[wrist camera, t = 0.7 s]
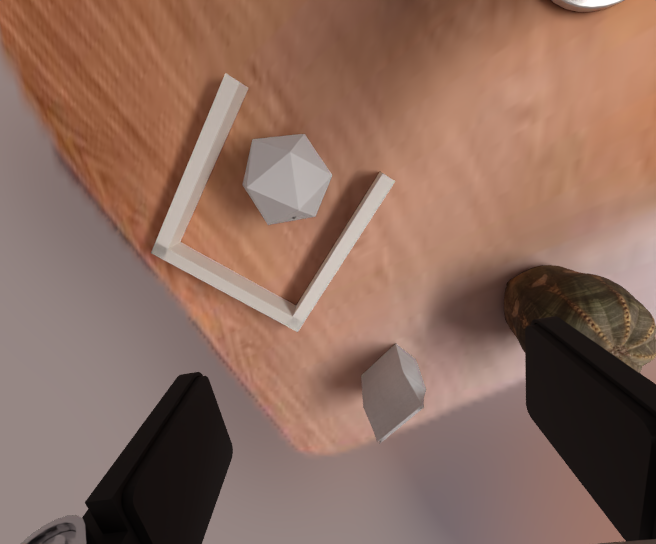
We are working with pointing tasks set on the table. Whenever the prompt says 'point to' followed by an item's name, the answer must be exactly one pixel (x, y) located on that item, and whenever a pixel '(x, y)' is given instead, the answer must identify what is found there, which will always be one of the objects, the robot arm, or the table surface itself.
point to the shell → (583, 310)
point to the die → (285, 178)
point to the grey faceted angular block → (392, 391)
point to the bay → (216, 273)
